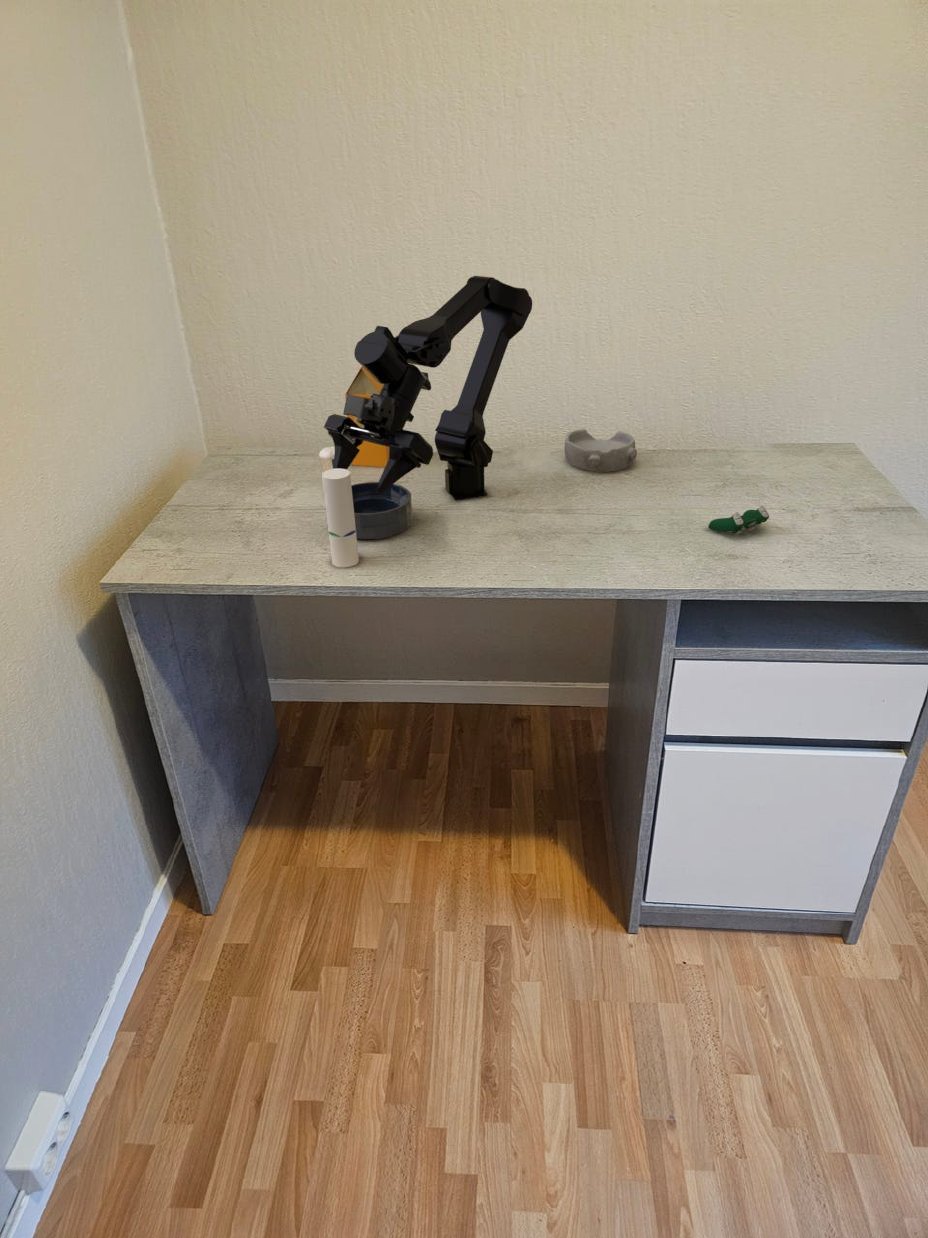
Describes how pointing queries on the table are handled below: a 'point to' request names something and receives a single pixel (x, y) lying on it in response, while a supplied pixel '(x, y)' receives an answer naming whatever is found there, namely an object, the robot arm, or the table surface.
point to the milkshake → (327, 458)
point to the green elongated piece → (740, 521)
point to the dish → (599, 451)
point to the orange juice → (368, 451)
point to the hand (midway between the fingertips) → (356, 486)
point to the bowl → (381, 510)
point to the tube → (340, 517)
